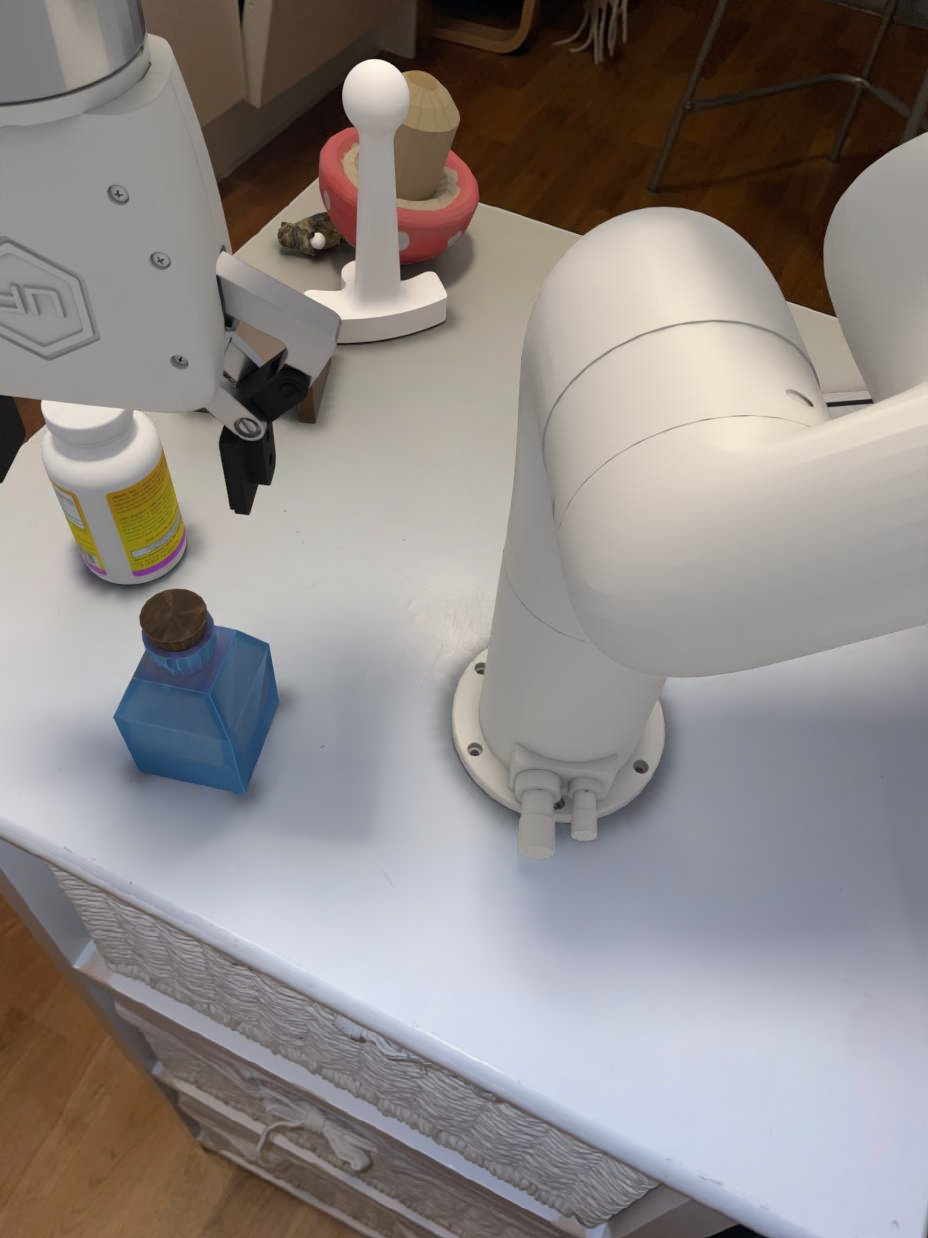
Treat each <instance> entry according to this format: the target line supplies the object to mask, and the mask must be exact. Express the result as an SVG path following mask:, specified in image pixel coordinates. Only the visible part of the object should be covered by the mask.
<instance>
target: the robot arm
mask: <svg viewBox="0 0 928 1238" xmlns="http://www.w3.org/2000/svg"><path fill="white" fill-rule="evenodd" d="M145 20H146V19H145V14H144V9H143V3H142V0H0V484H3V483H4V481H5V479H6V477H7V475H8V473H9V471H10V469H11V467H12V465H13V464H14V461H15V459H16V457H17V456H18V453H19V451H20V449H21V448H22V445H23V443H24V441H25V439H26V436H27V430H26V426H25V424H24V422H23V419H22V416H21V414H20V411H19V409H18V406H17V404H16V401H15V399H14V398H15V397H16V398H24V399H31V400H40V401H42V400H47V401H55V402H64V403H73V404H82V405H91V406H100V407H110V408H119V409H128V410H138V411H140V412H150V413H162V414H180V413H189V412H193V411H194V412H195V410H198V409H201V408H203V407H204V408H205V409H207V410H208V411H209V412H208V413H210V414H211V415H212V416H213V417H214V418H216V419H217V420H218V421H219V422H220V423H221V424H223V426H222V429H221V431H220V435H219V438H218V450H219V456H220V461H221V466H222V472H223V478H224V483H225V488H226V495H227V500H228V505H229V510H231V511H234V514H235V515H243V516H250V515H251V512H252V509H253V505H254V502H255V498H256V494H257V491H258V489H259V486H268V487H270V486H271V485H272V482H273V480H274V479H273V478H274V475H275V471H276V466H277V465H276V464H277V449H276V441H275V433H274V426H273V425H274V424H273V422H274V421H276V420H277V419H279V418H280V417H282V416H284V415H285V414H286V413H287V412H289V411H290V410H292V409H293V408H295V407H296V406H298V404H299V403H300V402H302V401H303V400H304V399H305V398H306V397H307V394H308V391H309V388H310V387H311V385H312V384H313V382H314V381H315V379H317V378H318V376H319V375H320V373H321V371H322V370H323V368H324V367H325V365H326V364H327V362H328V361H329V359H330V358H331V359H332V356H333V355H334V353H335V351H336V349H337V345H338V343H337V342H338V338H339V334H340V330H341V326H342V321H341V318H340V316H339V315H338V314H337V313H336V312H335V311H333V310H332V309H330V308H328V307H326V306H324V305H322V304H321V303H319V302H317V301H315V300H313V299H311V298H310V297H308V296H306V295H304V293H302V292H300V291H299V290H297V289H295V288H293V287H291V286H289V285H288V284H286V283H285V282H284V283H283V282H282V281H280V280H278V279H276V278H274V277H273V276H271V275H269V274H267V273H265V272H264V271H261V270H260V269H258V268H257V267H254V266H253V265H251V264H249V263H247V262H245V261H243V260H241V259H240V258H238V257H236V256H234V254H233V250H232V245H231V240H230V234H229V229H228V226H227V220H226V217H225V213H224V208H223V204H222V198H221V195H220V190H219V187H218V183H217V179H216V176H215V172H214V168H213V164H212V161H211V157H210V154H209V150H208V148H207V143H206V141H205V138H204V134H203V131H202V128H201V123H200V122H199V119H198V117H197V113H196V110H195V106H194V104H193V101H192V99H191V96H190V93H189V91H188V87H187V85H186V82H185V80H184V77H183V74H182V71H181V69H180V66H179V65H178V64H179V63H178V62H177V59H176V56H175V55H174V52H173V49H172V47H171V45H170V43H169V42H168V40H167V39H165V38H163V37H161V36H159V35H155V34H151V33H148V29H147V25H146V21H145ZM823 273H824V278H825V283H826V287H827V291H828V294H829V298H830V301H831V304H832V307H833V311H834V313H835V316H836V318H837V321H838V324H839V327H840V329H841V333H842V336H843V337H844V340H845V342H846V344H847V346H848V349H849V351H850V354H851V356H852V358H853V361H854V363H855V365H856V368H857V369H858V372H859V374H860V376H861V378H862V380H863V383H864V385H865V387H866V389H867V391H869V394H870V396H871V398H872V400H873V402H874V404H873V405H870V406H868V407H866V408H863V409H860V410H858V411H855V412H852V413H849V414H847V415H844V416H841V417H839V418H836V419H832V417H831V414H830V412H829V409H828V407H827V405H826V402H825V400H824V397H823V395H822V394H823V393H822V392H823V391H821V390H822V389H821V383H820V379H819V377H818V376H819V375H818V374H817V371H816V369H815V366H814V363H813V362H812V359H811V357H810V355H809V353H808V350H807V348H806V345H805V343H804V341H803V338H802V336H801V334H800V330H799V328H798V326H797V323H796V321H795V318H794V316H793V314H792V311H791V309H790V306H789V304H788V303H787V300H786V298H785V296H784V294H783V292H782V289H781V287H780V285H779V284H778V282H777V280H776V279H775V277H774V276H773V273H772V272H771V270H770V269H769V267H768V266H767V265H766V263H765V262H764V260H763V259H762V257H761V256H760V255H759V253H758V252H757V251H756V250H755V249H754V248H753V247H752V245H751V244H749V242H748V241H747V240H746V239H745V238H744V237H743V236H741V235H740V234H739V233H738V232H736V231H735V230H734V229H733V228H731V227H730V226H728V225H727V224H725V223H723V222H721V221H720V220H718V219H716V218H714V217H712V216H709V215H707V214H705V213H703V212H700V211H695V210H691V209H689V208H683V207H671V206H656V207H653V206H652V207H645V208H641V209H640V208H639V209H634V210H630V211H628V212H625V213H621V214H619V215H617V216H614V217H611V218H610V219H608V220H606V221H604V222H602V223H601V224H598V225H596V226H595V227H593V228H592V229H591V230H589V231H588V232H586V233H585V234H584V235H582V236H581V237H580V238H579V239H578V240H576V241H575V242H574V243H573V244H572V245H571V246H570V247H569V248H568V249H567V250H566V251H565V253H564V254H562V256H561V257H560V258H559V259H558V261H556V263H555V264H554V266H553V267H552V269H551V270H550V272H548V274H547V276H546V278H545V280H544V282H543V284H542V285H541V287H540V289H539V292H538V294H537V296H536V297H535V300H534V303H533V305H532V307H531V311H530V314H529V318H528V319H527V320H528V321H527V325H526V329H525V334H524V338H523V345H522V351H521V359H520V371H519V384H518V387H519V388H518V402H517V404H518V405H517V425H516V426H517V427H516V446H515V459H514V472H513V481H512V489H511V490H512V491H511V499H510V507H509V515H508V520H507V527H506V533H505V541H504V546H503V550H502V556H501V563H500V568H499V569H500V570H499V576H498V577H499V578H498V583H497V587H496V594H495V602H494V608H493V615H492V621H491V627H490V633H489V640H488V645H487V646H488V647H487V648H485V649H484V650H483V651H481V652H480V653H479V654H478V655H477V656H476V657H474V659H472V661H471V662H469V664H468V665H467V667H466V668H465V670H464V672H463V674H462V675H461V677H460V679H459V681H458V683H457V687H456V689H455V693H454V695H453V700H452V707H451V733H452V738H453V742H454V747H455V749H456V752H457V754H458V756H459V758H460V762H461V763H462V765H463V767H464V768H465V770H466V772H467V773H468V774H469V776H470V777H471V778H472V779H473V782H474V783H476V784H477V785H478V786H479V787H480V788H481V789H482V790H483V791H484V792H485V793H486V795H488V796H489V797H490V798H492V799H494V800H495V801H496V802H498V803H500V804H501V805H503V806H504V807H505V808H507V809H509V810H512V811H514V812H516V813H518V814H520V817H519V819H518V835H517V854H519V856H521V857H523V858H526V859H530V860H546V859H547V860H548V859H549V858H552V857H553V856H554V855H555V850H556V849H555V848H556V847H555V844H556V823H561V824H562V823H564V824H565V823H566V824H570V825H571V826H570V836H571V838H572V839H574V840H577V841H580V842H591V841H594V840H595V839H597V838H598V819H600V818H603V817H605V816H609V815H612V814H614V813H615V812H617V811H619V810H621V809H622V808H624V807H626V806H627V805H629V804H630V803H631V802H632V801H633V800H634V799H635V798H637V797H638V796H639V795H640V794H642V792H643V790H644V789H645V788H646V786H647V785H648V784H649V783H650V781H651V779H652V778H653V776H654V775H655V772H656V770H657V768H658V766H659V764H660V761H661V758H662V755H663V751H664V748H665V740H666V739H665V738H666V725H665V724H666V723H665V718H664V717H665V716H664V711H663V707H662V705H661V703H660V700H659V698H660V697H659V696H660V695H661V692H662V691H663V688H664V686H665V683H666V681H667V679H668V678H678V679H683V678H684V679H685V678H705V677H712V676H721V675H729V674H735V673H739V672H745V671H749V670H754V669H760V668H763V667H766V666H771V665H775V664H779V663H784V662H787V661H791V660H795V659H799V658H803V657H807V656H811V655H815V654H819V653H823V652H826V651H829V650H830V651H831V650H833V649H837V648H841V647H845V646H849V645H852V644H856V643H860V642H863V641H867V640H871V639H874V638H879V637H882V636H886V635H890V634H894V633H897V632H901V631H905V630H909V629H912V628H916V627H921V626H924V625H928V131H926V132H924V133H922V134H920V135H918V136H916V137H914V138H912V139H910V140H908V141H906V142H904V143H902V144H900V145H899V146H897V147H894V148H893V149H891V150H890V151H888V152H887V153H885V154H884V155H882V156H881V157H880V158H878V159H877V160H875V161H874V162H873V163H872V164H870V165H869V166H868V167H866V168H865V169H864V170H863V171H862V172H861V173H860V174H859V175H858V176H857V177H856V178H855V179H854V181H853V182H852V183H851V184H850V185H849V186H848V188H847V189H846V190H845V191H844V192H843V194H842V195H841V196H840V198H839V200H838V201H837V203H836V205H835V206H834V209H833V211H832V213H831V216H830V218H829V221H828V225H827V227H826V232H825V235H824V239H823ZM240 321H242V322H244V323H246V324H248V325H250V326H252V327H254V328H256V329H258V330H260V331H261V332H263V333H265V334H267V335H269V336H271V337H273V338H275V339H277V340H279V341H280V342H282V343H283V344H284V345H285V347H286V348H285V349H284V350H282V351H281V352H280V353H278V354H277V355H276V356H274V357H273V358H272V359H270V360H269V361H268V362H266V361H265V360H264V359H263V358H262V357H261V356H259V355H258V354H257V353H256V352H255V351H254V350H253V349H252V348H251V347H250V346H249V345H248V344H247V343H246V342H245V341H244V340H243V339H242V338H241V337H240V336H239V335H238V334H237V333H236V332H235V331H236V330H237V328H238V326H239V322H240ZM223 371H225V372H227V373H228V374H227V375H229V377H231V378H232V379H233V380H234V381H235V382H236V383H237V384H236V385H234V384H233V383H232V382H230V381H229V380H228V379H227V378H226V377H225V376H224V374H223ZM472 754H475V755H472ZM638 771H639V772H638ZM555 806H556V807H557V808H558V809H556V808H555Z"/></svg>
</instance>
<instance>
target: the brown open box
mask: <svg viewBox="0 0 928 1238" xmlns="http://www.w3.org/2000/svg"><path fill="white" fill-rule="evenodd" d="M235 332H236V333H237V334H238V335H239V336H240V337H241V338H242V339H243V340H244V341H245V342H246V343H247V344H248V345H249V346H250V347H251V348H252V349H253V350H254V351H255V352H256V353H257V354H258V355H259V356H261V357H262V358H263V359H264V360H265V361H266V362H268V361H269V360H270V359H272V358H273V357H274V356H276V355H277V354H278V353H280V352H281V351H282V350H284V349H285V348H286V347H285V345H284V344H283V343H282V342H280V341H279V340H277V339H275V338H273V337H271V336H269V335H267V334H265V333H263V332H261V331H260V330H258V329H256V328H254V327H252V326H250V325H248V324H246V323H244V322H242V321H240V322H239V326H238V328H237V330H236V331H235ZM331 362H332V357H331V358H330V359H329V361H328V362H327V364H326V365H325V367H324V368H323V370H322V371H321V373H320V375H319V376H318V378H317V379H315V381H314V382H313V384H312V385H311V387H310V388H309V391H308V394H307V397H306V398H305V399H304V400H303V401H302V402H300V403H299V404H298V405H297V412H298V413H297V414H298V420H299V423H308V424H309V423H310V424H316V423H317V418H318V414H319V411H320V405H321V401H322V397H323V393H324V389H325V386H326V381H327V378H328V374H329V369H330V365H331ZM223 375H229V374H228V373H227V372H225V371H223ZM195 411H197V412H206V413H210V412H209V411H208V410H207V409H205V408H204V407H203V408H201V409H198V410H194V412H195Z"/></svg>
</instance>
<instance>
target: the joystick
mask: <svg viewBox="0 0 928 1238" xmlns="http://www.w3.org/2000/svg"><path fill="white" fill-rule="evenodd" d="M401 73H402V72H401V71H400V70H399V69H398V68H397V67H396V66H395V65H393V64H391V62H389V61H386V60H382V59H377V58H373V59H366V60H364V61H361V62H359V63H357V64H356V65H355V66H354V67H353V68H352V69H351V70H350V71H349V73H348V74H347V76H346V78H345V80H344V83H343V86H342V94H341V95H342V96H341V99H342V106H343V109H344V112H345V115H346V116H347V118H348V121H349V122H350V123H351V124H352V125H353V127H356V129H357V131H358V134H359V171H358V202H357V232H356V249H355V260H352V261H349V262H348V263H346V264H345V265H344V266H343V267H342V269H341V274H340V275H341V290H319V289H308V290H306V291H305V292H303V294H304V295H306V296H308V297H310V298H311V299H313V300H315V301H317V302H319V303H321V304H322V305H324V306H326V307H328V308H330V309H332V310H333V311H335V312H336V313H337V314H338V315H339V316H340V318H341V321H342V326H341V330H340V334H339V338H338V342H337V344H351V343H352V344H353V343H366V342H367V343H368V342H376V341H382V340H383V341H384V340H388V339H393V338H397V337H403V336H406V335H410V334H414V333H417V332H420V331H423V330H426V329H429V328H431V327H434V326H436V325H439V324H441V323H443V322H445V321H446V319H447V308H448V307H447V306H448V293H447V291H446V289H445V287H444V285H443V283H442V281H441V280H440V278H439V276H438V274H437V273H436V272H433V271H424V272H423V273H420V274H418V275H416V276H414V277H411V278H409V279H406V280H405V279H404V280H401V264H400V263H399V243H398V223H397V203H396V183H395V163H394V135H395V132H396V130H397V129H398V127H399V126H400V125H401V124H402V123H403V121H404V120H405V118H406V116H407V113H408V110H409V104H410V94H409V89H408V85H407V83H406V80H405V79H404V77H403V75H402V74H401Z"/></svg>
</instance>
